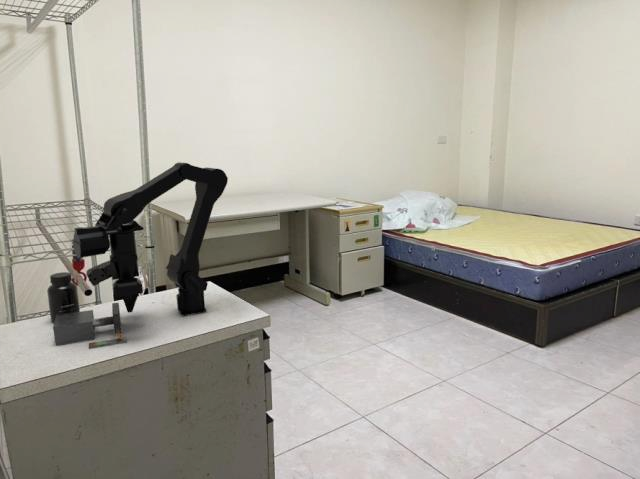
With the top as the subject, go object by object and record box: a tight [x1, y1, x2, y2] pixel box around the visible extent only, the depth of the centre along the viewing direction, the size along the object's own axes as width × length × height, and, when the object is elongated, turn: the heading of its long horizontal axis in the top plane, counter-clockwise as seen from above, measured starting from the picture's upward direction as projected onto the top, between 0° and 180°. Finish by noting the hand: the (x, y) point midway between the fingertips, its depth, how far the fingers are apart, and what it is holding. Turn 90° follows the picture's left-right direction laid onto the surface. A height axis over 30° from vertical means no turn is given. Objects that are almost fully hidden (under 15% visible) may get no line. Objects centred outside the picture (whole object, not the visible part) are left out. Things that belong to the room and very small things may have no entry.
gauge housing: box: [52, 309, 128, 350], centre depth 113 cm, size 15×13×4 cm
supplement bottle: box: [47, 271, 81, 323], centre depth 123 cm, size 7×7×12 cm
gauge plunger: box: [92, 301, 122, 339], centre depth 113 cm, size 12×13×5 cm
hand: (130, 311), depth 118 cm, fingers closed
